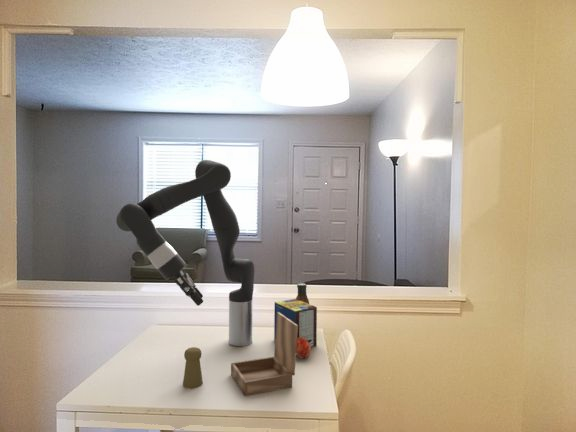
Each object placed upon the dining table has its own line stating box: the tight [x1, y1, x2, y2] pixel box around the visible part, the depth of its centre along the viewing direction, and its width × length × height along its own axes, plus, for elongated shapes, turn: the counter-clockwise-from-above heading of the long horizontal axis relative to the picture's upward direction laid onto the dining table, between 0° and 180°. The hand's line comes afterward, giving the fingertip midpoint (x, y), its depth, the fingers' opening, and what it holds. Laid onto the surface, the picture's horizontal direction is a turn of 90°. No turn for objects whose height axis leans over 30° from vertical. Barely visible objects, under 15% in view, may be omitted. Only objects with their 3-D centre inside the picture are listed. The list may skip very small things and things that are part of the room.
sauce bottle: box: [295, 283, 310, 304], centre depth 180 cm, size 6×6×20 cm
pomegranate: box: [296, 337, 313, 359], centre depth 149 cm, size 7×7×10 cm
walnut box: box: [230, 356, 293, 397], centre depth 129 cm, size 15×15×4 cm
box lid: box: [273, 312, 298, 377], centre depth 132 cm, size 15×16×1 cm
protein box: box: [273, 298, 318, 348], centre depth 163 cm, size 10×15×16 cm
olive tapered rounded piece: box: [182, 346, 204, 389], centre depth 127 cm, size 6×6×11 cm
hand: (200, 301), depth 126 cm, fingers open, 8 cm apart
